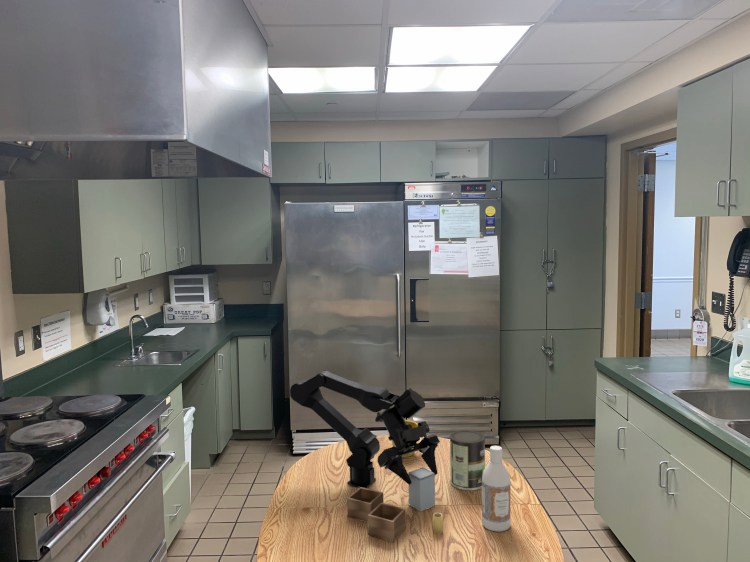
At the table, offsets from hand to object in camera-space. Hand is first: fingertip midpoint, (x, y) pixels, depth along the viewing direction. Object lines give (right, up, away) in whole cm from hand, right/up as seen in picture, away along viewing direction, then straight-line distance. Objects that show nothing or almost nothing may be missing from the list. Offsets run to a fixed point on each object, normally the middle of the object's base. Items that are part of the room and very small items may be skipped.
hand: (423, 479), depth 142 cm
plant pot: (-3, -5, +36) cm, 37 cm away
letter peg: (+2, -9, -11) cm, 14 cm away
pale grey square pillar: (0, -8, +1) cm, 8 cm away
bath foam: (+17, -8, -9) cm, 21 cm away
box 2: (-10, -9, -11) cm, 17 cm away
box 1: (-16, -8, -3) cm, 18 cm away
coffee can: (+14, -7, +14) cm, 21 cm away
